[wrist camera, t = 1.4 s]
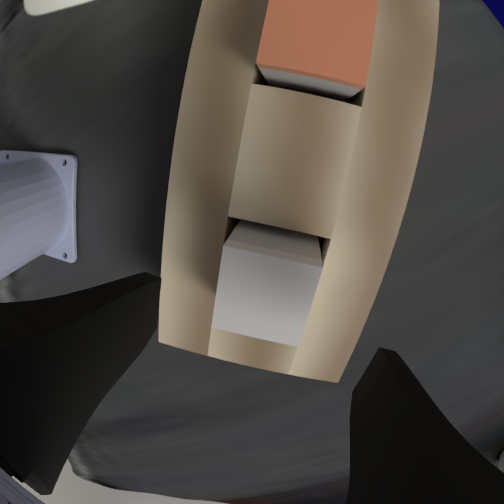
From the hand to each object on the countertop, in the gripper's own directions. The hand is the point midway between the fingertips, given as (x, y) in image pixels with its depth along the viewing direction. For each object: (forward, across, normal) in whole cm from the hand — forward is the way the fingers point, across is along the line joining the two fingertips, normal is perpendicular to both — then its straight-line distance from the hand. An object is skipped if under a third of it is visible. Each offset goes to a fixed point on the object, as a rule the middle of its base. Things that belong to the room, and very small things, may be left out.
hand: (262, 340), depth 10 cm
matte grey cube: (+7, +1, 0) cm, 7 cm away
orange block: (+7, +1, -10) cm, 12 cm away
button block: (+10, +1, -5) cm, 11 cm away
